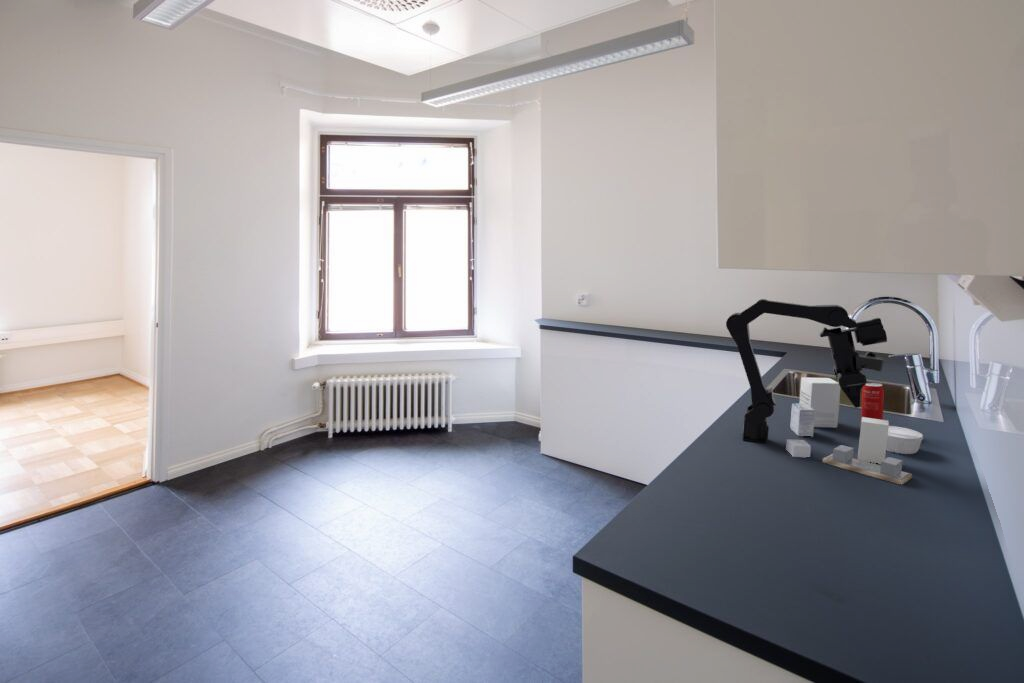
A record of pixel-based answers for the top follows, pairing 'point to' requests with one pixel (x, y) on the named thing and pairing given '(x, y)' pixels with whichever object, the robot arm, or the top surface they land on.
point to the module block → (873, 440)
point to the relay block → (798, 448)
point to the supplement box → (821, 400)
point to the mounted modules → (887, 465)
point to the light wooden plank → (868, 467)
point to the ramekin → (903, 440)
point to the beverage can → (872, 401)
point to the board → (868, 472)
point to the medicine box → (802, 419)
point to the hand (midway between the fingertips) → (855, 403)
